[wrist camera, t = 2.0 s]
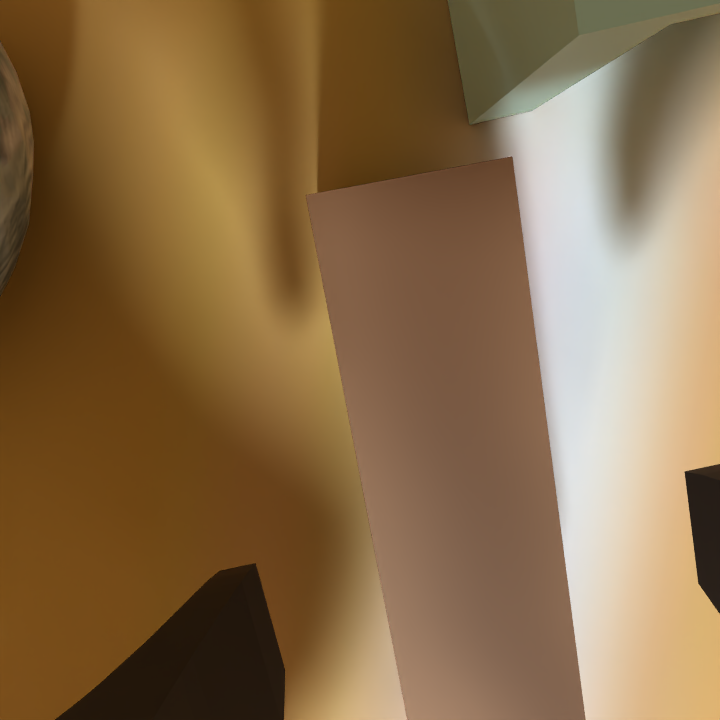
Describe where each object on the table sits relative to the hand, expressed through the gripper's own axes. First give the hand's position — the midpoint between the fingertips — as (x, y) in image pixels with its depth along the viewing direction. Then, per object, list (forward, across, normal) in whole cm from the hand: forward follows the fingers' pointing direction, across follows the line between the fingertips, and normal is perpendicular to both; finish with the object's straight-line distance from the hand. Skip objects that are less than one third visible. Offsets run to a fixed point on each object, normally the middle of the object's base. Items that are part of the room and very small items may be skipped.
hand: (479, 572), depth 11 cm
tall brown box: (+6, 0, 0) cm, 6 cm away
